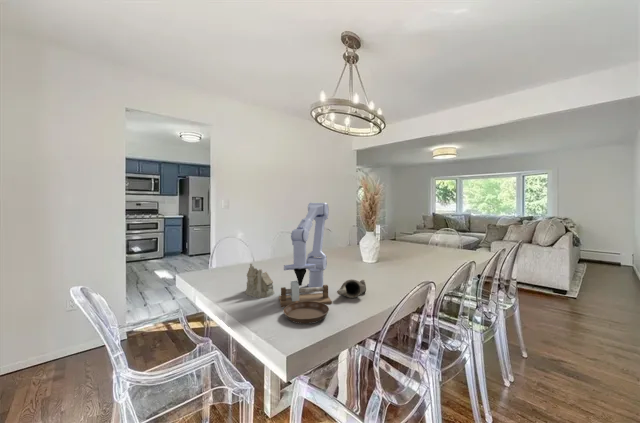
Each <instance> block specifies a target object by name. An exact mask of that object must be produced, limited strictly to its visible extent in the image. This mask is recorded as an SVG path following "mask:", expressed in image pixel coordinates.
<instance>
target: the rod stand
mask: <svg viewBox="0 0 640 423" xmlns="http://www.w3.org/2000/svg"><path fill="white" fill-rule="evenodd" d="M291 293H292V289H291V288H287V287H280V295H279V296H278V298H279V304H280V308H285V307H286V306H288V305H290V304H293V303H296V302H303V301H314V302H320V303H323V304H325V305H331V304H333V300H332V299H331V298H330V296H329V285H328V284H323V287H310V288H309V287H299V301H293V302H292V299H291ZM300 293H303V294H300ZM288 294H289V295H288Z"/></svg>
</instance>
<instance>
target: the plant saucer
mask: <svg viewBox="0 0 640 423" xmlns="http://www.w3.org/2000/svg"><path fill="white" fill-rule="evenodd" d="M329 311H330V307H329V306H328V304H323V303H320V302H314V301H303V302H296V303H293V304H290V305H288V306H286V307H283V311H282V312H283V314H284V316H285V317H286V318H287V319H288V321H290V322H293V323H296V324H302V325H303V324H306V325H307V324H315V323H318V322H321V321H323V319H324V318H326V316H327V315H328V314H329Z"/></svg>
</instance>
